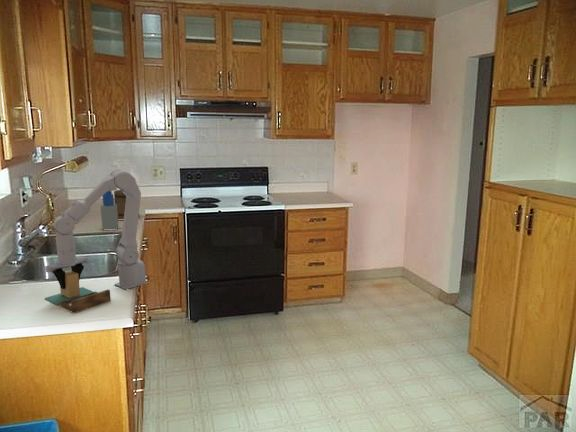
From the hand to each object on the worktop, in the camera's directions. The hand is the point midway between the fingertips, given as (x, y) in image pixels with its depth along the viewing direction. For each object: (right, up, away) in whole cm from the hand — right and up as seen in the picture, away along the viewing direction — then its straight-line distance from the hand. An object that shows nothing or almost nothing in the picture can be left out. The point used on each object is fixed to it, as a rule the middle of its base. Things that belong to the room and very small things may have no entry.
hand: (69, 286), depth 162 cm
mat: (0, -4, +1) cm, 4 cm away
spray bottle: (-26, +17, +104) cm, 109 cm away
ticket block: (0, -3, +1) cm, 3 cm away
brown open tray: (+8, -5, -5) cm, 11 cm away
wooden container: (-27, +24, +135) cm, 140 cm away
